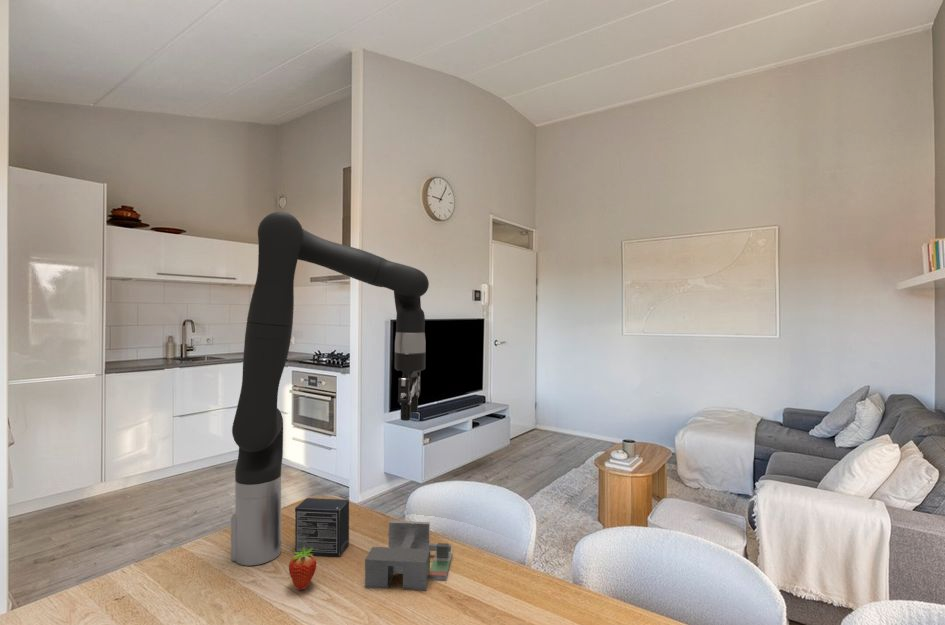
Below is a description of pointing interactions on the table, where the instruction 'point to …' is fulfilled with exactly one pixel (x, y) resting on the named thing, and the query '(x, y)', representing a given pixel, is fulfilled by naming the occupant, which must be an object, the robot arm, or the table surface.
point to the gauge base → (404, 567)
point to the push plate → (410, 537)
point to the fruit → (302, 568)
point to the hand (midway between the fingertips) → (409, 416)
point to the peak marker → (442, 550)
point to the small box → (322, 526)
